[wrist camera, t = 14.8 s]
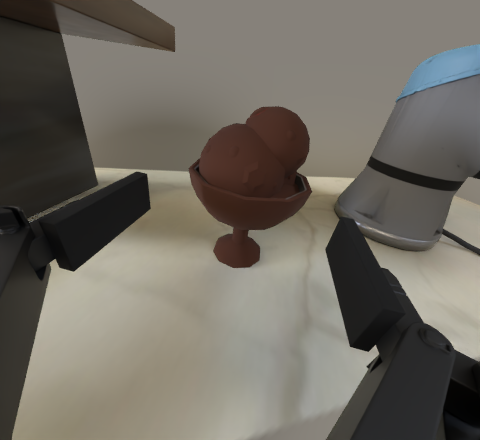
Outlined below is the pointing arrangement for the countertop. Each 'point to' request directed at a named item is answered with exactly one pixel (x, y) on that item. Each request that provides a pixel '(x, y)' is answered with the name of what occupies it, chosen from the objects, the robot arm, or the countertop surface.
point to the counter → (55, 92)
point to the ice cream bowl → (252, 179)
